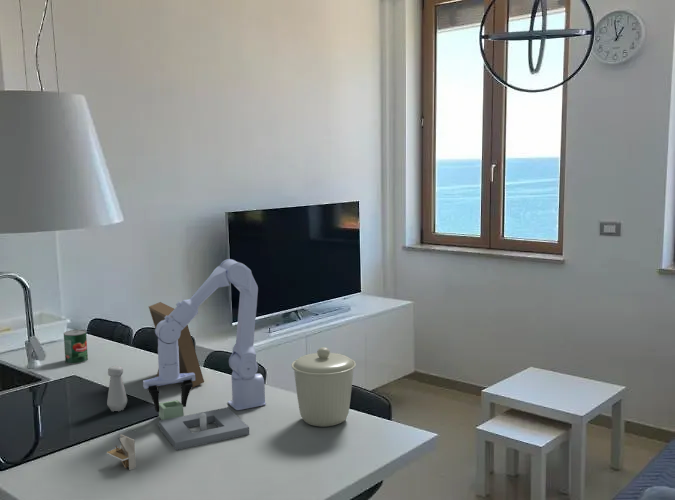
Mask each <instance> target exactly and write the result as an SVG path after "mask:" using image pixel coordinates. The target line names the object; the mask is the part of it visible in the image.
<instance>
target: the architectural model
mask: <svg viewBox="0 0 675 500" xmlns="http://www.w3.org/2000/svg"><path fill="white" fill-rule="evenodd" d="M119 435H120V438H119V437H117V439H118V441H119V443H120V447H118V446H117V445H115V448H114V449H112V450H109V451H106V455H110V456H111V457H113V458H115V459H117V460H120V461H121V463H122V465H123V467H124V468H125V469H127V468H128V470H129V471H132V470H134V469H136V467H137V465H136V464H137V463H136V461H137V460H136V445H135V439H134V438H131V437H129V436H127V435H124V434H119Z"/></svg>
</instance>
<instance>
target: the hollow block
mask: <svg viewBox="0 0 675 500" xmlns="http://www.w3.org/2000/svg"><path fill="white" fill-rule="evenodd" d="M181 416H185V415H184V407H183V405H182V404H181V401H179V400H178V399H174V400H170V401H164V402H163V401H162V402H159V412H158V417H159V419H161V420H165V419H170V418H176V417H181Z"/></svg>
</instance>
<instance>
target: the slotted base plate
mask: <svg viewBox="0 0 675 500" xmlns="http://www.w3.org/2000/svg"><path fill="white" fill-rule="evenodd" d="M212 423H214V424H215V425H216V426H217V427H215V428H207V427H208V424H212ZM198 426H199V430H198V431H194V432H192V431H191V430H190V429H189V428H192V427H198ZM158 428H159V430H160V431H161V433H162V434H163V436H164V437H165V438H166V439H167V440H168V442H169V443H170V444H171V445H172V447H173V448H174V450H176V451H179V450H184V449H188V448H193V447H196V446H201V445H206V444H207V445H208V444H211V443H215V442H219V441H223V440H228V439H233V438H238V437H242V436H248V435H250V426H249V425H248V424H246V423H245V422H244V421H243V420H242V419H241V418H240V417H239V416H238V415H236V414H235V412H233V411H232V410H231V409H230V408H229V407H223V408H218V409H211V410H207V411H202V412H198V413H193V414H187V415H184V416H181V417H176V418H170V419H165V420H158ZM183 448H184V449H183ZM178 449H179V450H178Z"/></svg>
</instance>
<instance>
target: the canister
mask: <svg viewBox="0 0 675 500" xmlns="http://www.w3.org/2000/svg"><path fill="white" fill-rule="evenodd" d="M330 351H331V350H330V349H329V348H328V347H323V346H322V347H319V348H318V349H317V352H315V353H314V352H313V353H308V354H305V355H302V356H300V357H298V358H297V359H295V360H294V361H292V362H291V369H292V370H293V373H294V382H295V388H296V396H297V403H298V409H299V413H300V417H301V418H302V420H303V421H304V422H305V423H306V424H308V425H309V426H310V425H311V426H315V427H333V426H334V427H335V426H337V425H340V424H342V423H344V422H345V421H346V420H347V417H348V416H349V412H350V405H351V398H352V389H353V378H354V377H353V376H354V369H355V368H356V366H357V363H356V361H355V360H354V359H352V358H350V357H349V356H347V355H344V354H342V353H337V352H330Z"/></svg>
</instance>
